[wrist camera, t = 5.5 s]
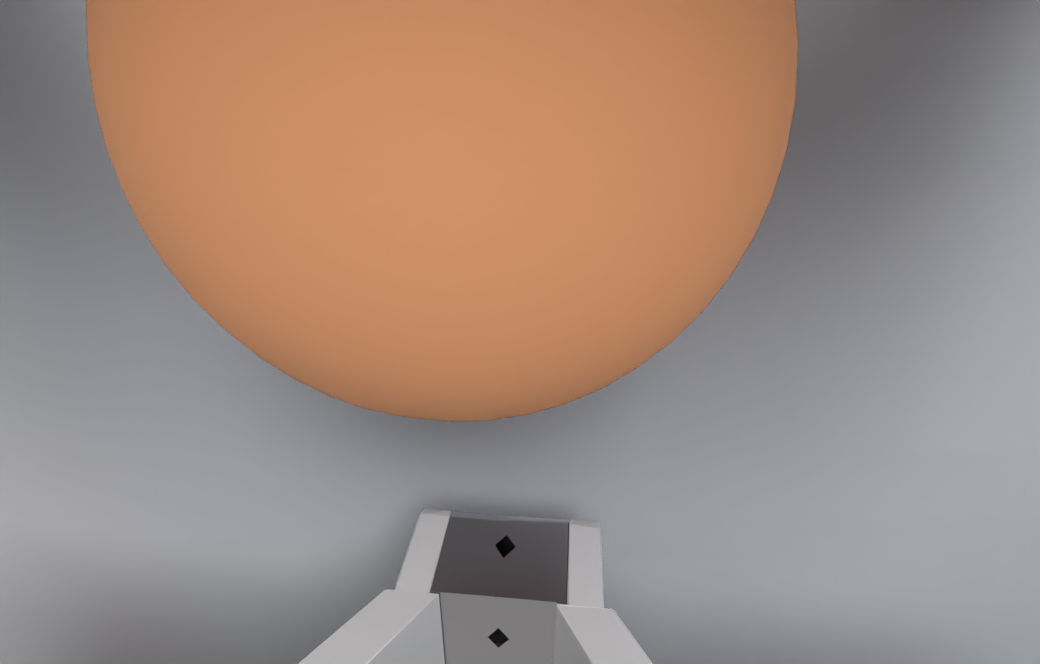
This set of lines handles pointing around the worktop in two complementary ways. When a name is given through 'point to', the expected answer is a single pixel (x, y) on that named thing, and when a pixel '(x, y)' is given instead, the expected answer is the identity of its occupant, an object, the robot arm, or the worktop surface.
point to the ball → (448, 180)
